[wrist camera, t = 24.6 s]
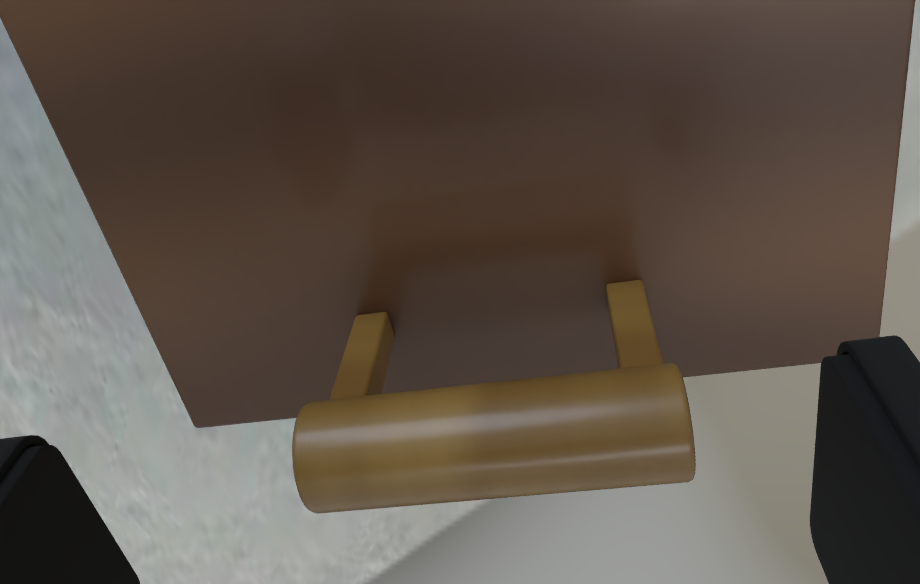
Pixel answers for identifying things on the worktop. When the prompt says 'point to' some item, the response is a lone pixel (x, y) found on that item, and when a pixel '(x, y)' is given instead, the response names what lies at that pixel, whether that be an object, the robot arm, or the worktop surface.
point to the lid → (480, 216)
